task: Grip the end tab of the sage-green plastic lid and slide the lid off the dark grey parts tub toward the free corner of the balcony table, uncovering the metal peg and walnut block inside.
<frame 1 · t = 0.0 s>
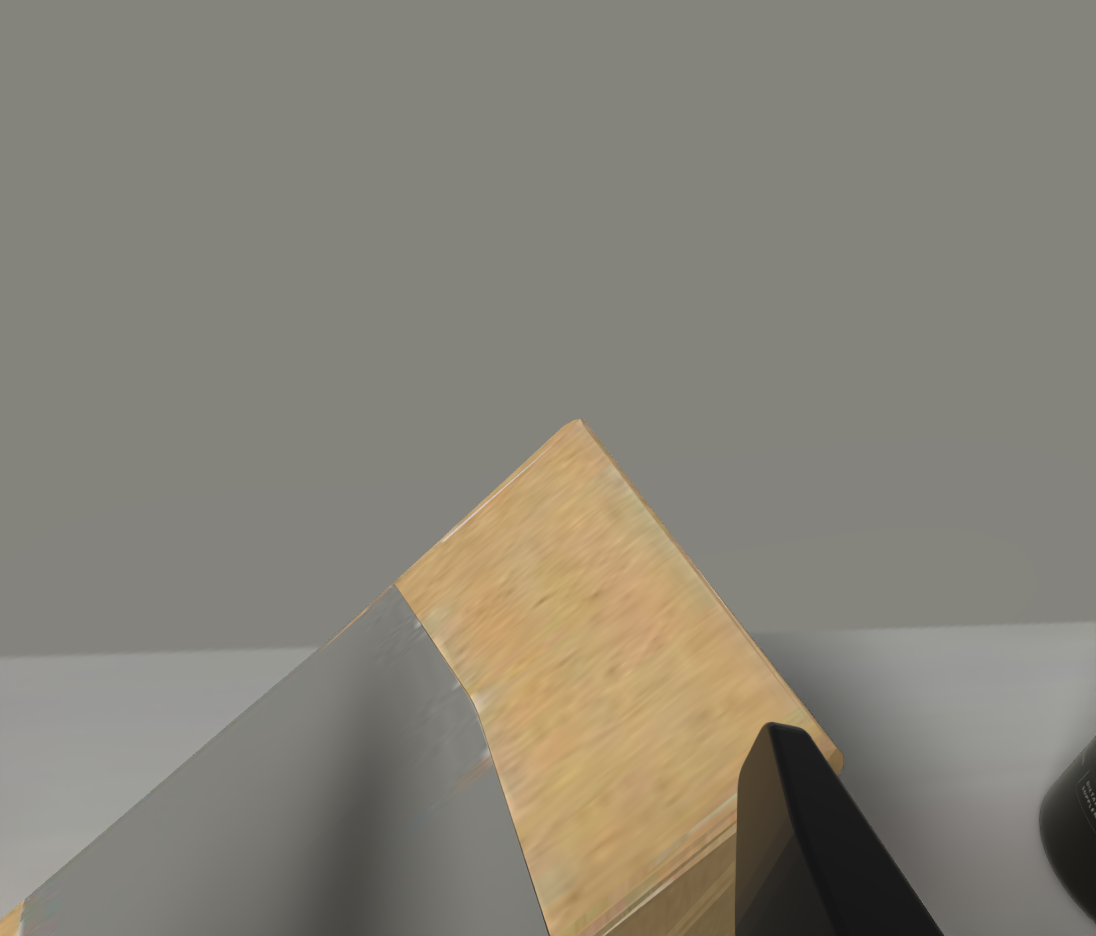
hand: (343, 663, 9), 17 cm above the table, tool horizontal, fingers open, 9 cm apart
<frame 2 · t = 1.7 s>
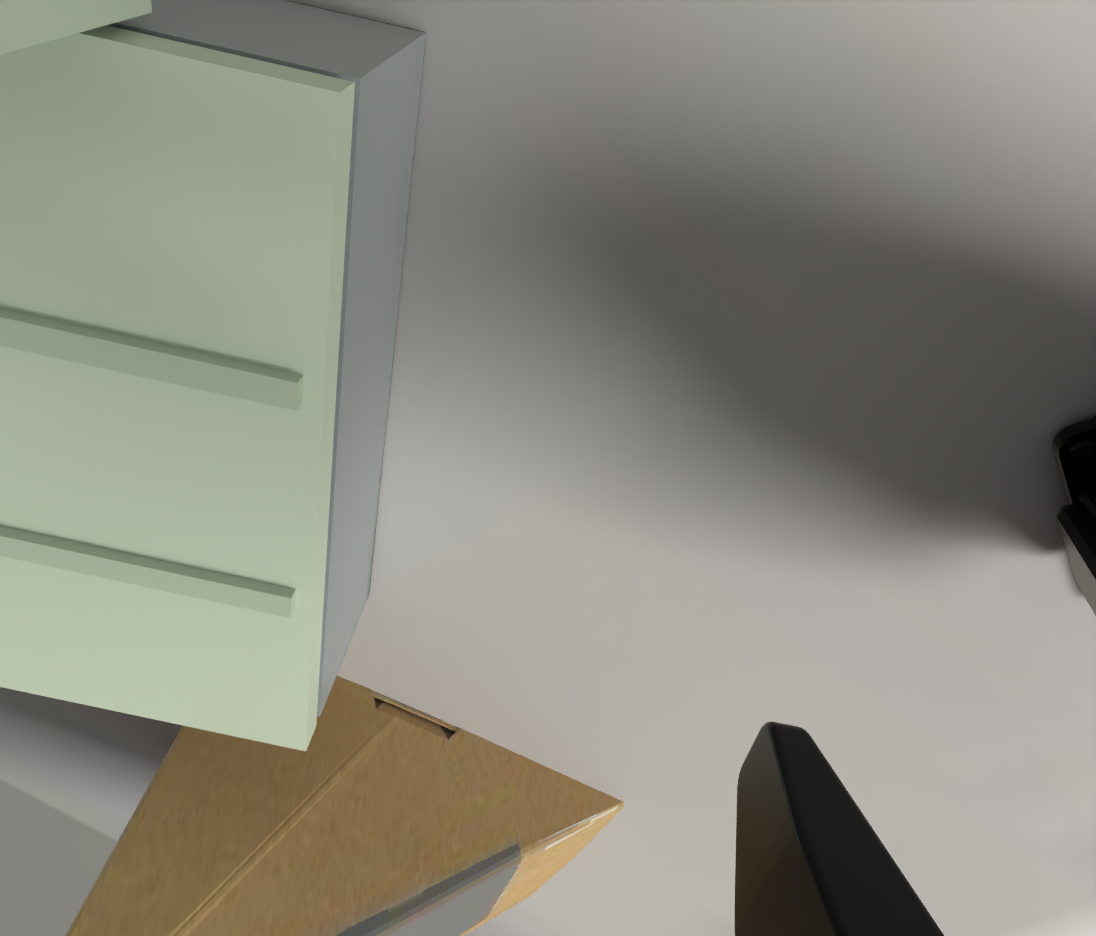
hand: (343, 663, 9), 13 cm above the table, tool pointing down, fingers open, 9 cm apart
tub: (200, 327, 22), on the table
sandwich container: (399, 775, 33), on the table
lid: (43, 397, 16), point 6 cm above the table, slide at 0.0 cm
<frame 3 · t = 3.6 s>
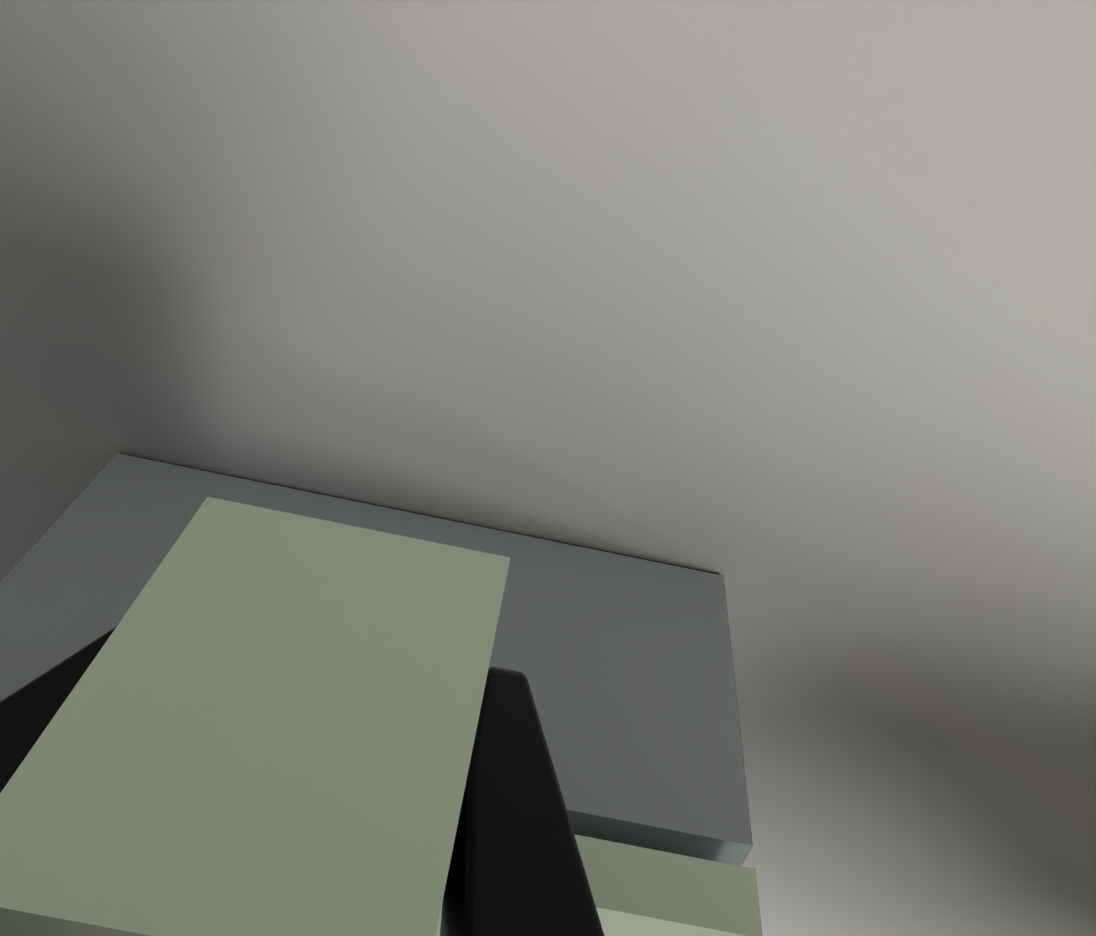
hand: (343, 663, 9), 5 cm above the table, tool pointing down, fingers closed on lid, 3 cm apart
tub: (386, 802, 19), on the table
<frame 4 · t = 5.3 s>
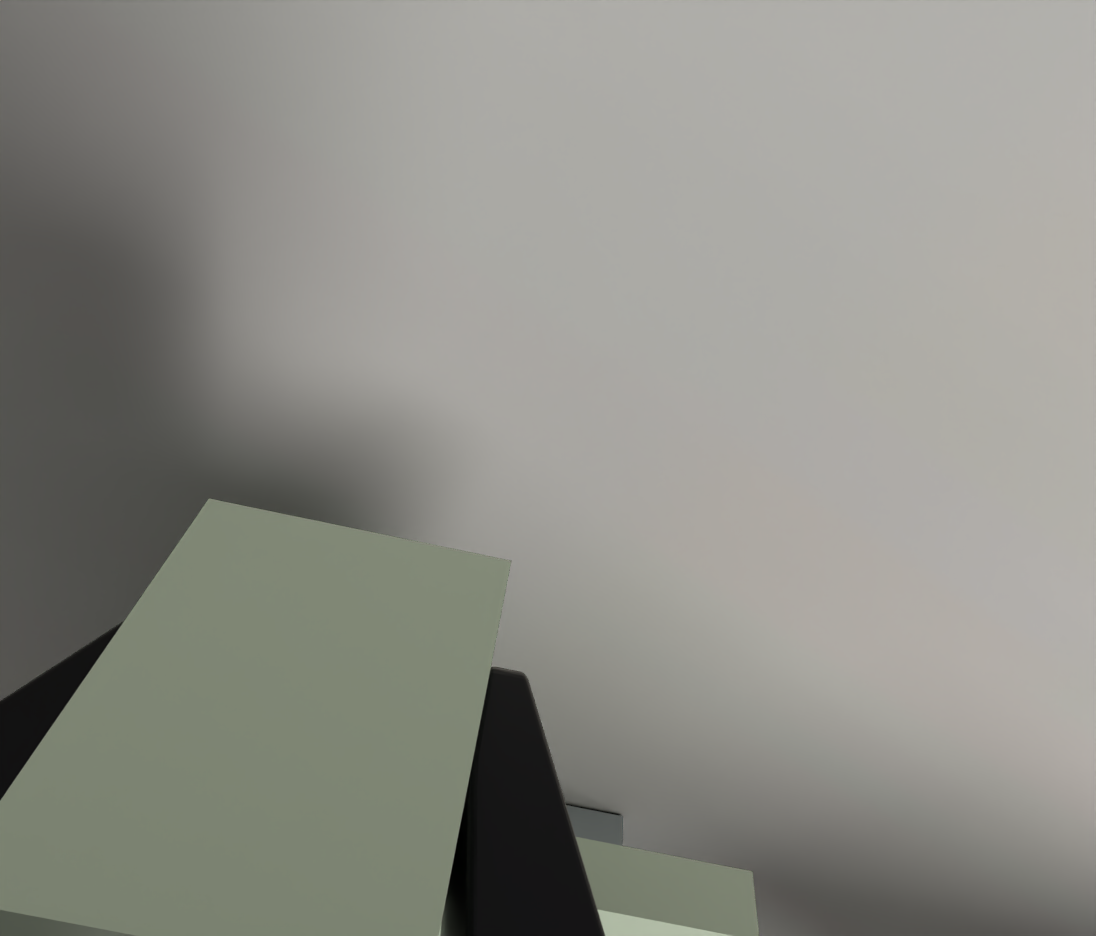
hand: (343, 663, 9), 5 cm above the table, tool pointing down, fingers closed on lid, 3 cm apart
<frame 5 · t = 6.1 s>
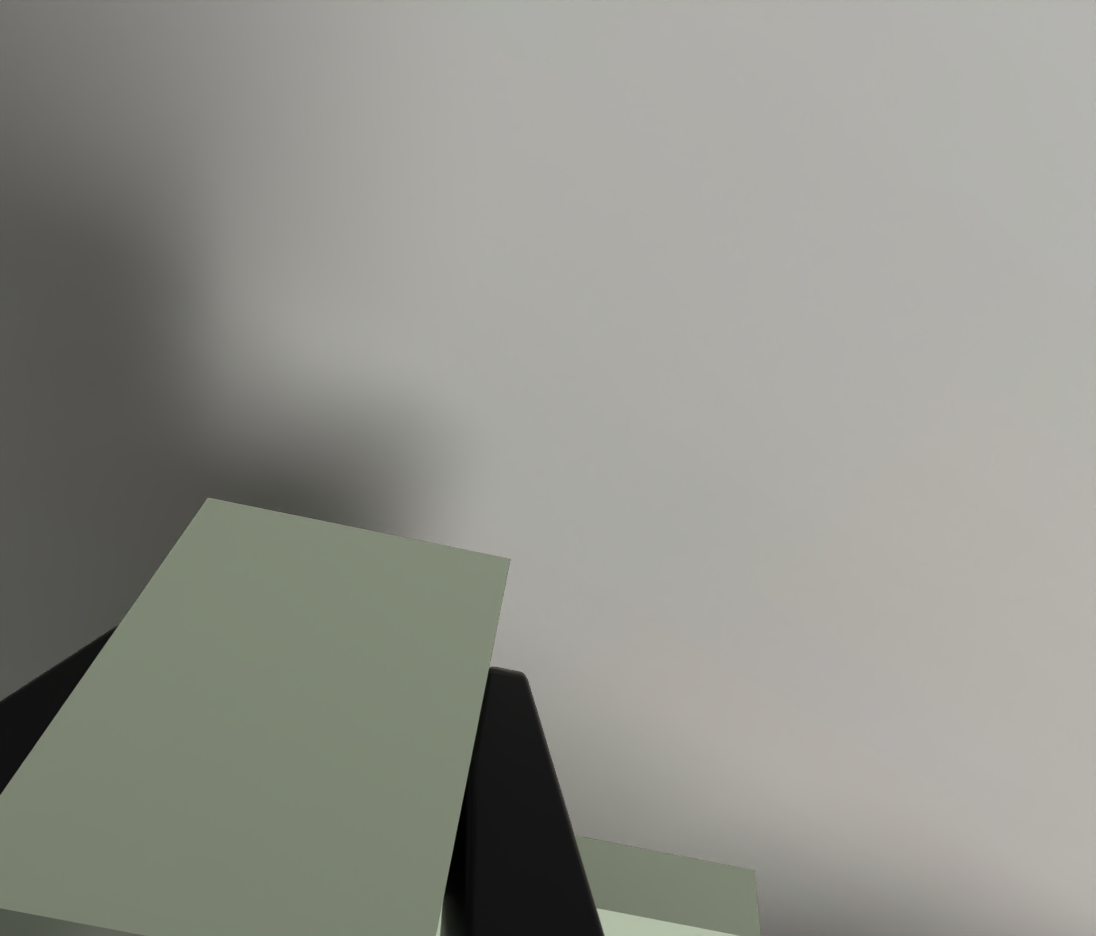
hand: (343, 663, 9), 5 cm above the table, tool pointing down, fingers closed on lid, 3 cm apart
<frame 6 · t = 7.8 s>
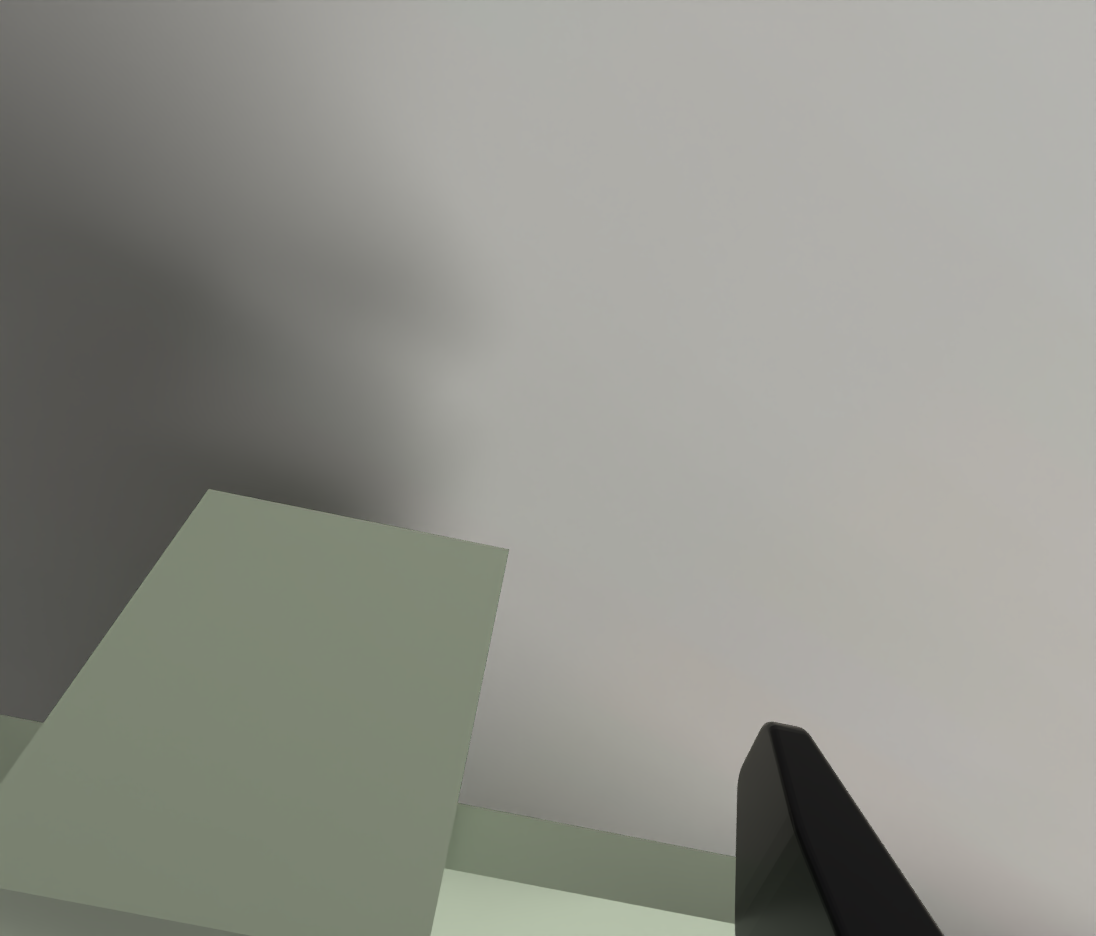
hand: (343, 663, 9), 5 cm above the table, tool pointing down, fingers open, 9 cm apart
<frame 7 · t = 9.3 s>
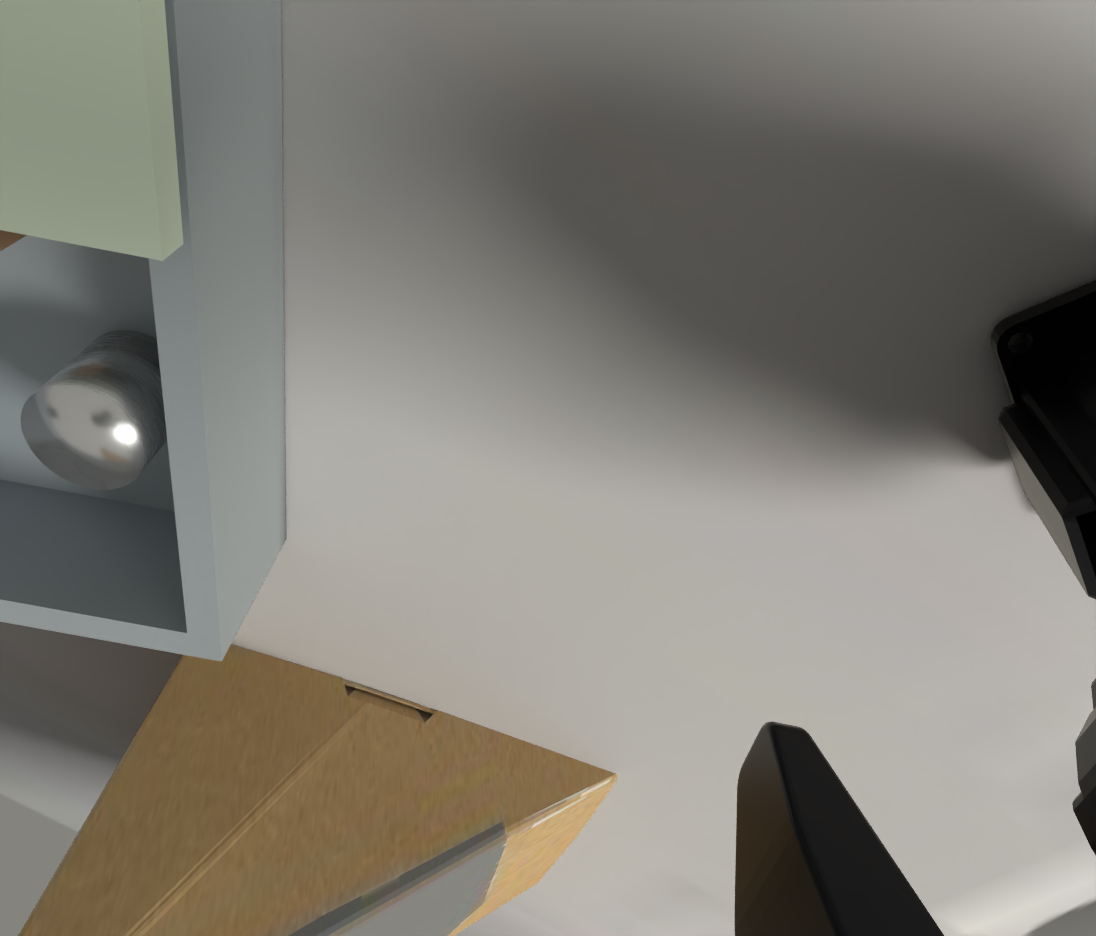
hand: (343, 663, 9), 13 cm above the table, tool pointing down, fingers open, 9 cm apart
tub: (76, 246, 21), on the table
metal peg: (140, 380, 22), point 1 cm above the table, touching tub
sandwich container: (387, 765, 32), on the table
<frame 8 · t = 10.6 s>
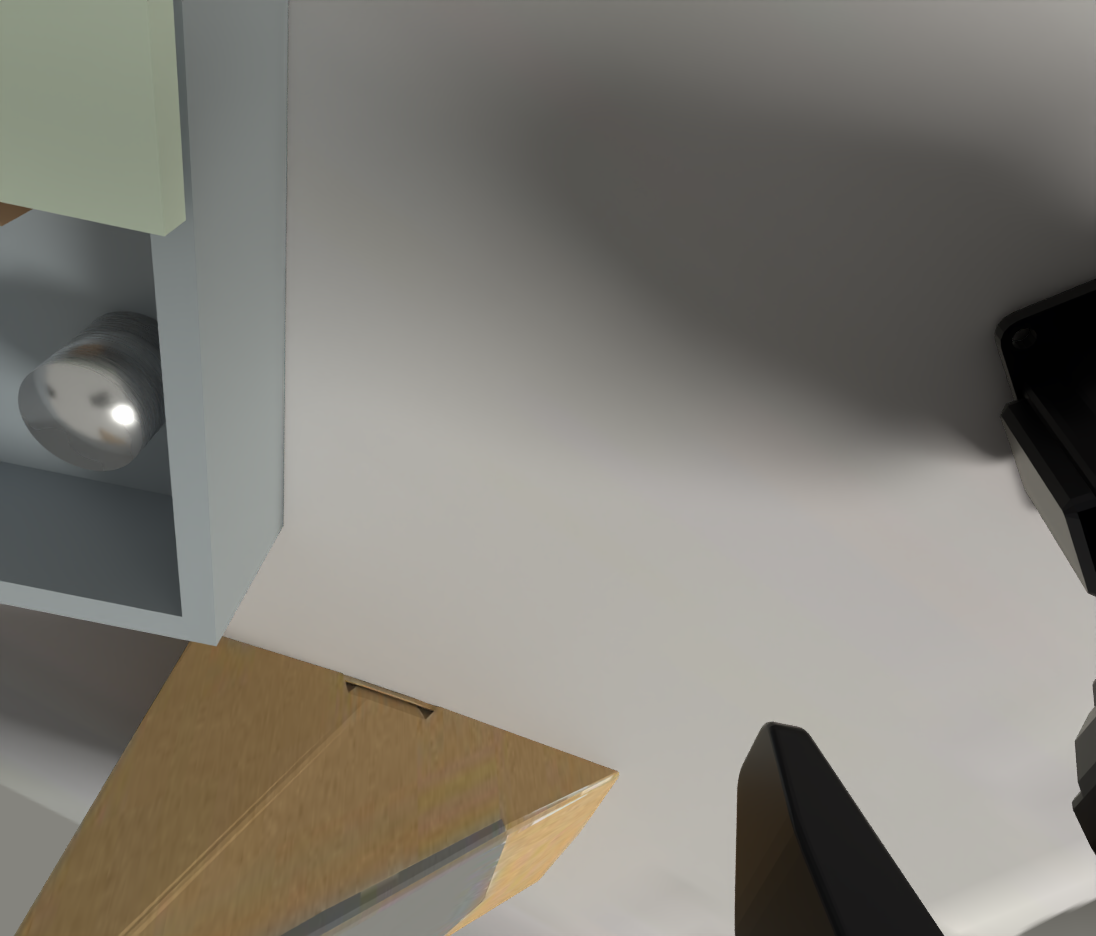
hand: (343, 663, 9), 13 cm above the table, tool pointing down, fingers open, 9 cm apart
tub: (77, 226, 21), on the table
metal peg: (139, 362, 22), point 1 cm above the table, touching tub
walnut block: (0, 90, 18), point 1 cm above the table, touching tub
sandwich container: (388, 762, 32), on the table
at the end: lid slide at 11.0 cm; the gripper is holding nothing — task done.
